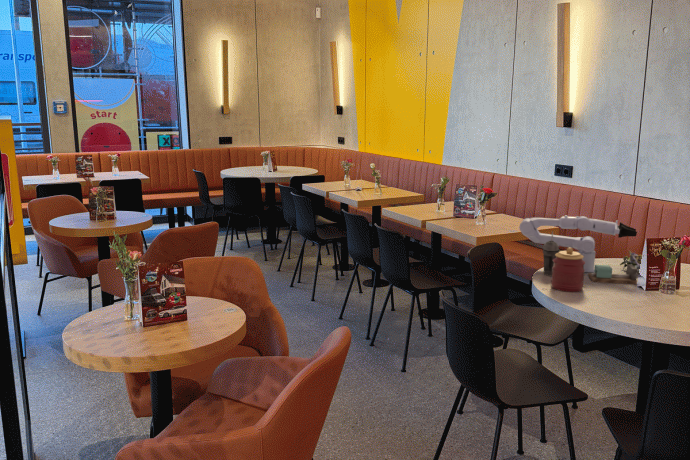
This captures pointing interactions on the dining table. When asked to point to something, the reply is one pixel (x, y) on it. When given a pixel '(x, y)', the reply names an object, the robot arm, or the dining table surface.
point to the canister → (568, 271)
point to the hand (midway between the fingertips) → (636, 232)
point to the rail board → (618, 277)
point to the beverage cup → (549, 255)
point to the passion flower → (632, 260)
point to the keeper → (603, 271)
